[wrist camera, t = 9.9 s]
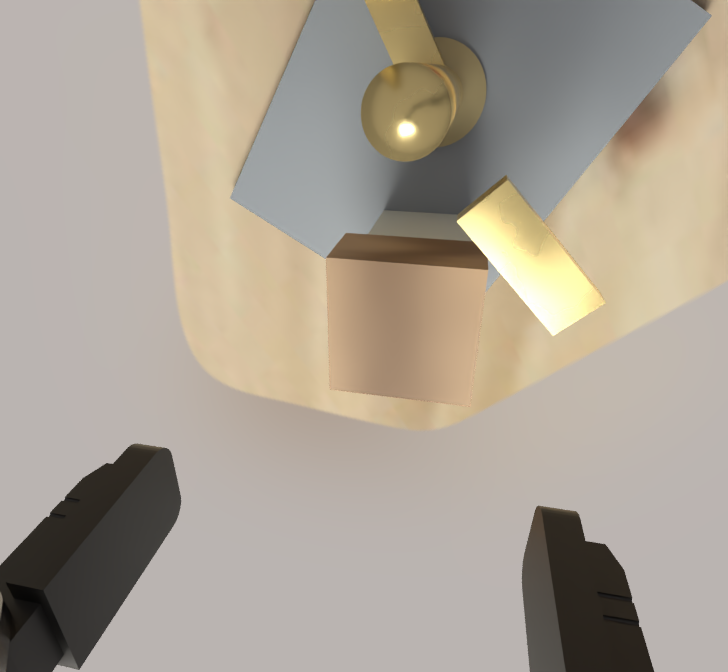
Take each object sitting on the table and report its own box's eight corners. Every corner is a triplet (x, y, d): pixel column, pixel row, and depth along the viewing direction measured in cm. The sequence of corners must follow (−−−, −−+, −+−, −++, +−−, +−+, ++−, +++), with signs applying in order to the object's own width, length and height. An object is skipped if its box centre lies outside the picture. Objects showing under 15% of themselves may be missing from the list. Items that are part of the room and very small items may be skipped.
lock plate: (703, 17, 20) (796, -3, 14) (449, 330, 29) (441, 398, 23) (409, -202, 19) (378, -324, 13) (236, 194, 27) (169, 229, 22)
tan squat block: (487, 242, 19) (488, 270, 16) (471, 365, 22) (470, 406, 19) (345, 232, 20) (325, 257, 17) (346, 352, 23) (329, 389, 20)
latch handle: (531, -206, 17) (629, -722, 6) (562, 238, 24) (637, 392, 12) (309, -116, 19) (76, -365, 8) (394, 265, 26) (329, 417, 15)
